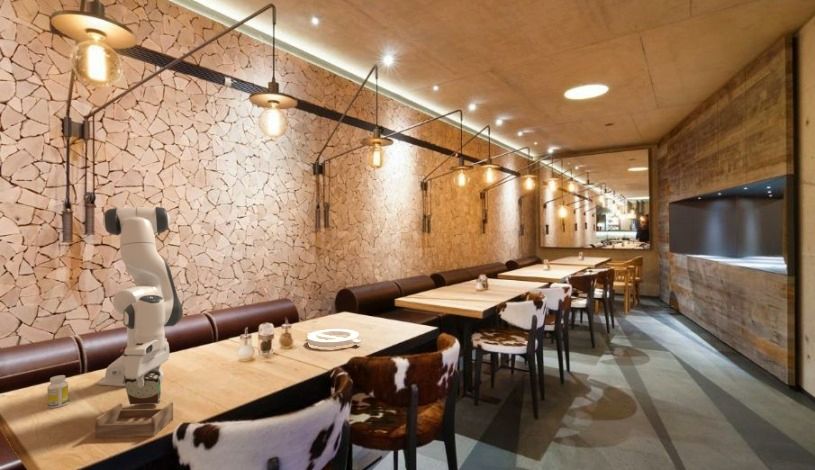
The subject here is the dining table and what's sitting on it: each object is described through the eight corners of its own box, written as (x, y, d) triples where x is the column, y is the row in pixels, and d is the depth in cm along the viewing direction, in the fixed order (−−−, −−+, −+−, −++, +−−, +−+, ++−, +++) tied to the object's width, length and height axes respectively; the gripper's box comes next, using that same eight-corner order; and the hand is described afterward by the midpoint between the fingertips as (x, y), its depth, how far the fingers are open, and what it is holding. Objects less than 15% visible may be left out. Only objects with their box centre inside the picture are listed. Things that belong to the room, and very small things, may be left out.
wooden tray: (154, 436, 115) (154, 417, 115) (95, 438, 114) (95, 418, 114) (173, 419, 125) (173, 402, 125) (119, 421, 124) (119, 403, 124)
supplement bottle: (66, 400, 140) (66, 373, 140) (69, 404, 137) (69, 376, 137) (46, 405, 136) (46, 377, 136) (48, 409, 133) (49, 381, 133)
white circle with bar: (306, 339, 226) (306, 330, 226) (354, 335, 234) (354, 327, 234) (308, 353, 199) (308, 343, 199) (362, 348, 207) (362, 339, 207)
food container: (171, 393, 141) (169, 367, 139) (163, 403, 135) (160, 377, 133) (135, 394, 140) (132, 368, 138) (125, 404, 134) (121, 378, 132)
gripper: (157, 334, 146) (156, 371, 146) (121, 351, 126) (119, 393, 126) (174, 335, 147) (173, 371, 147) (141, 351, 126) (139, 394, 126)
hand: (148, 382), depth 136 cm, fingers closed on food container, 6 cm apart
